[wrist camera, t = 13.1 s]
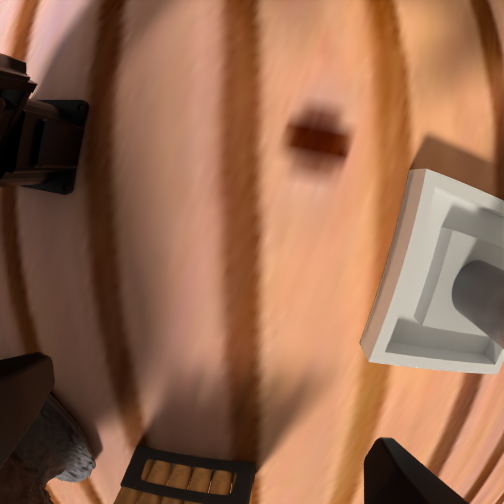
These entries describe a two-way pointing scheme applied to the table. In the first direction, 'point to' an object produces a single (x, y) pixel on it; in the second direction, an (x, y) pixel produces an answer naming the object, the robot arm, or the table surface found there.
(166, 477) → the ammunition clip
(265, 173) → the table surface
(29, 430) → the decorative urn
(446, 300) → the grey upright post
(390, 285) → the tray
